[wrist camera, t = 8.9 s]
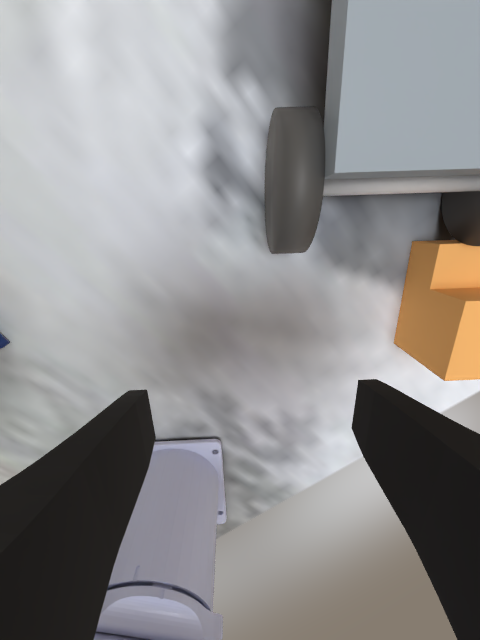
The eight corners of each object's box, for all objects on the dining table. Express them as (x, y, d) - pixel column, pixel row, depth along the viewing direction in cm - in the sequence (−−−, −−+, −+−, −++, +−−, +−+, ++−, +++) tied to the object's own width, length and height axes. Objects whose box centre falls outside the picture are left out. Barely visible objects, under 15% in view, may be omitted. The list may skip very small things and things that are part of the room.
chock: (446, 339, 19) (516, 377, 15) (392, 342, 19) (444, 380, 15) (473, 238, 17) (565, 245, 12) (410, 241, 17) (480, 248, 12)
